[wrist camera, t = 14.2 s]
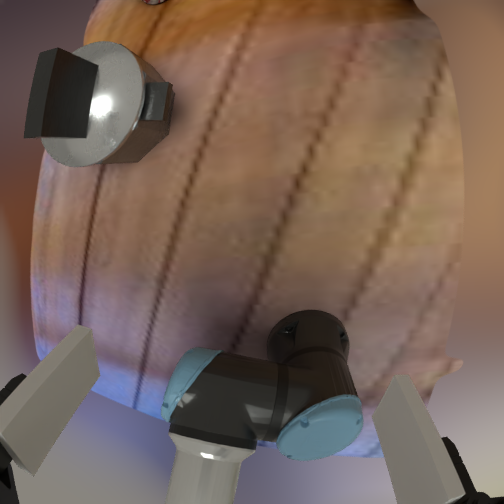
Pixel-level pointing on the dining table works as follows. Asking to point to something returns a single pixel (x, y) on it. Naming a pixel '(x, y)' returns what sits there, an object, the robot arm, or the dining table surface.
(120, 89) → the lid
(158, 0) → the soda can
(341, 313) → the dining table surface
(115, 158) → the pot
